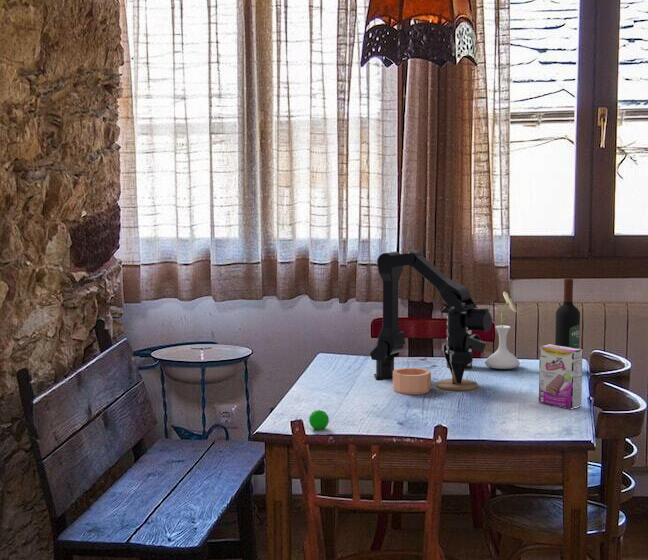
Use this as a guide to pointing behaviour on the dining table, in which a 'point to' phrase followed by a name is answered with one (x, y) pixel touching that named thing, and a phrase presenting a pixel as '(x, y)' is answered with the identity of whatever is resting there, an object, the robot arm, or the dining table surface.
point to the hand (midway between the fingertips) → (456, 379)
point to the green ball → (319, 419)
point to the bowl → (411, 380)
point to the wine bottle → (567, 320)
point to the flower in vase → (503, 344)
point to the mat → (455, 391)
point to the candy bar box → (560, 376)
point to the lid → (456, 384)
